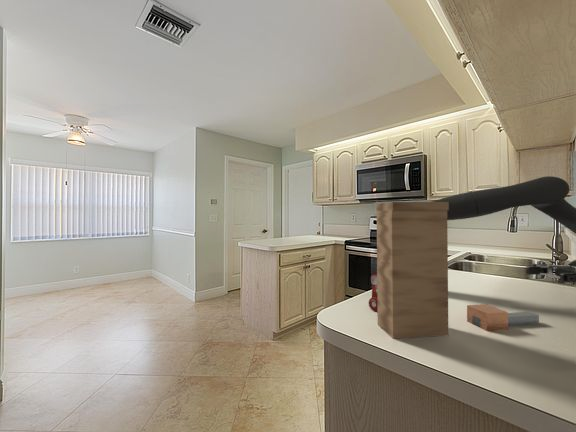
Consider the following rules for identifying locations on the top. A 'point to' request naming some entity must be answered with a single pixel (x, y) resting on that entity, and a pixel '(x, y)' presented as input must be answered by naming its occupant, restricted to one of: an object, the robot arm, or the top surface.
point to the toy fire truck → (374, 294)
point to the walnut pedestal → (412, 268)
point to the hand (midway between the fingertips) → (543, 273)
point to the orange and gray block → (498, 317)
